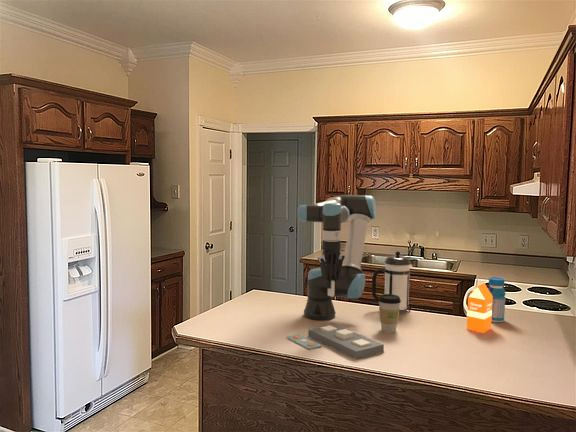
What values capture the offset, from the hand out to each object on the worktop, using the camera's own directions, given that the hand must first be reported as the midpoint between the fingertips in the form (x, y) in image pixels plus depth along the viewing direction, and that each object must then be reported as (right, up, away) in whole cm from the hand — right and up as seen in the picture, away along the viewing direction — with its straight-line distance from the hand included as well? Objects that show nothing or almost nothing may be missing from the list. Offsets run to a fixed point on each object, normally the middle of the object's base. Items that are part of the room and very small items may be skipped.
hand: (331, 295), depth 202 cm
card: (-12, -18, -8) cm, 23 cm away
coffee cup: (+26, -17, +9) cm, 33 cm away
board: (+5, -18, -9) cm, 20 cm away
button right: (+10, -18, -17) cm, 27 cm away
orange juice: (+67, -17, +13) cm, 71 cm away
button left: (-1, -17, 0) cm, 17 cm away
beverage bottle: (+80, -16, +26) cm, 86 cm away
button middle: (+5, -16, -9) cm, 19 cm away
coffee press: (+35, -14, +41) cm, 56 cm away
